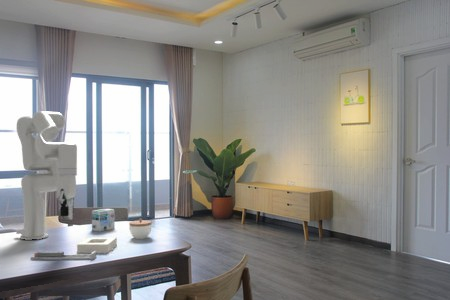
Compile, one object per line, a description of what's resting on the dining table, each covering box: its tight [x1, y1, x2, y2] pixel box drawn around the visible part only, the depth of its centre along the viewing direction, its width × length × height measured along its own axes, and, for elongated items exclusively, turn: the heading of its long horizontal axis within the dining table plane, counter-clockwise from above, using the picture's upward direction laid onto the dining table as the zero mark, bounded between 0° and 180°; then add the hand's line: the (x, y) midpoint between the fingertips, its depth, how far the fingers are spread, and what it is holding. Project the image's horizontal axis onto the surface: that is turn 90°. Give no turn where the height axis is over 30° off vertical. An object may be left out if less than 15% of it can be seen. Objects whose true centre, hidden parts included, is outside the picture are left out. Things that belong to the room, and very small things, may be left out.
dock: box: [76, 237, 118, 254], centre depth 176 cm, size 13×13×4 cm
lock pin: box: [33, 251, 65, 257], centre depth 161 cm, size 11×2×2 cm, turn 89°
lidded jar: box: [129, 218, 152, 240], centre depth 198 cm, size 11×11×9 cm
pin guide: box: [30, 251, 97, 261], centre depth 161 cm, size 25×4×2 cm, turn 89°
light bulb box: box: [91, 208, 116, 232], centre depth 219 cm, size 11×7×11 cm, turn 148°
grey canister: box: [61, 198, 74, 221], centre depth 172 cm, size 4×4×9 cm
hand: (67, 214), depth 172 cm, fingers closed on grey canister, 4 cm apart
